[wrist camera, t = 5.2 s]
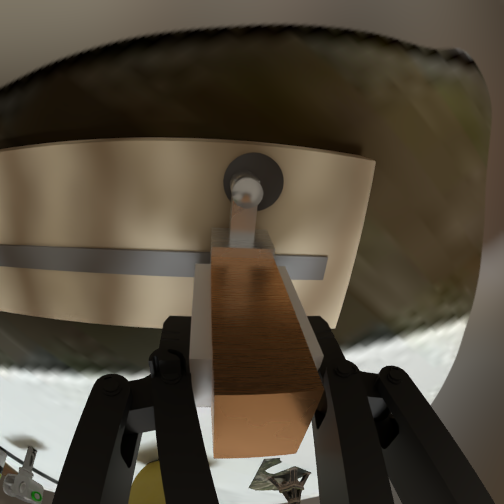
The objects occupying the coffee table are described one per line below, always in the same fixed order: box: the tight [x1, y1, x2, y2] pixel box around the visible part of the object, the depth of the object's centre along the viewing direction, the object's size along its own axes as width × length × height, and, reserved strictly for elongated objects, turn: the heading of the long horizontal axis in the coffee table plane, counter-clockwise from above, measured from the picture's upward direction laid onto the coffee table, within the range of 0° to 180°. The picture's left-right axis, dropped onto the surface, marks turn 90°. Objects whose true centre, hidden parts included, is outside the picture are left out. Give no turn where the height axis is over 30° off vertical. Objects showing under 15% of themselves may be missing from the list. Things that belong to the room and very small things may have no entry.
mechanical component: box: [3, 447, 43, 504], centre depth 26 cm, size 3×10×10 cm, turn 114°
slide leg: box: [210, 170, 324, 459], centre depth 12 cm, size 3×8×10 cm, turn 175°
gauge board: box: [0, 137, 376, 329], centre depth 16 cm, size 32×12×4 cm, turn 85°
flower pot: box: [128, 461, 166, 504], centre depth 29 cm, size 9×9×9 cm
